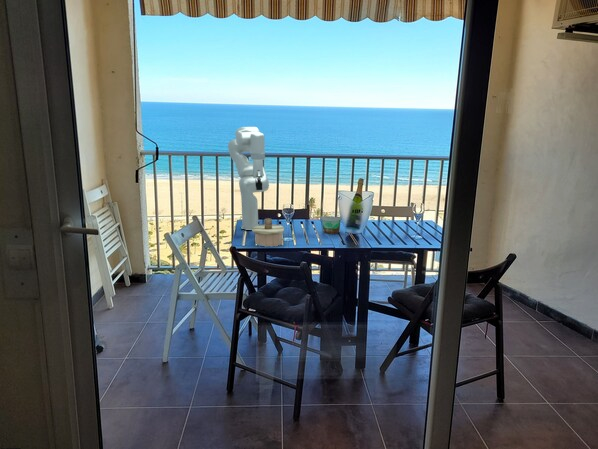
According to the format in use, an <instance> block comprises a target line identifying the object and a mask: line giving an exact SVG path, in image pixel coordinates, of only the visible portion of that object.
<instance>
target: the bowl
mask: <svg viewBox="0 0 598 449" xmlns="http://www.w3.org/2000/svg"><path fill="white" fill-rule="evenodd" d="M254 234H255V233H254ZM254 236H255V239H254V241H255V242H256V243H255V242H254V243H255V245H256V244H258V245H262V246H275V247H278V245H279V246H281V245H282V244H283V232H282V233H279V234H275V235H259V234H255V235H254Z"/></svg>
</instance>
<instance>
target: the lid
mask: <svg viewBox="0 0 598 449" xmlns="http://www.w3.org/2000/svg"><path fill="white" fill-rule="evenodd" d="M263 221H264V222H263V223H264V224H258V225H259V226H255V227H253V229H252V231H251V232H252V233H254V234H259V235H275V234H279V233H282V234H283V233H284V232H285V227H284V226H283V225H280V224H273V218H269V217H268V218H264V220H263Z"/></svg>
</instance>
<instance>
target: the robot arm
mask: <svg viewBox="0 0 598 449" xmlns="http://www.w3.org/2000/svg"><path fill="white" fill-rule="evenodd" d="M234 135H235V138H233V139H231V140H229V141H228V144H227V148H228V153H229V156H230V158H231V159H232V161H233V162H234V164H235V168H236V171H237V174H238V176H239V181H238V186H239V191H240V196H241V198H240V200H241V201H240V202H241V219H242V220H241V221H242V222H241V223H242V224H241V226H242V227H241V228H242V229H246V230H252V229H253V227H255V226H259V225H260V224H259V208H258V204H259V203H258V199H257V197H256V196H255V194H254V193H260V192H261V193H262V192H267V191H268V190H269V188H270V187H269V186H270V182H269V178H268V175H267V172H266V170H265V167H264V161H265V160H266V153H265V152H266V149H265V147H266V146H265V134H264V133H262V132H261V131H260V129H259V128H258V127H256V126H241V127H238V128H237V129H236V130H235V134H234ZM244 153H250V160H251V161H252V163H251V162H250V161H249V158H248V157H247V156H246V155H245V154H244Z"/></svg>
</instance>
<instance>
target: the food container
mask: <svg viewBox="0 0 598 449" xmlns="http://www.w3.org/2000/svg"><path fill="white" fill-rule="evenodd" d="M320 220H321V222H322V230H323V231H322V232H323V233H324V234H327V235H337V234H339V233H340V229H341V228H340V227H341V220H343V218H342V215H339V216H333V215H330V216H329V215H328V216H323V215H321V217H320Z"/></svg>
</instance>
